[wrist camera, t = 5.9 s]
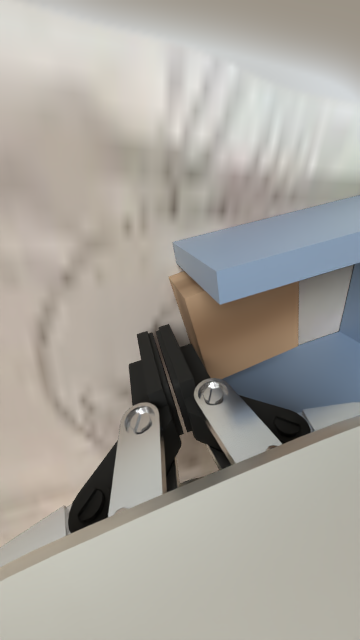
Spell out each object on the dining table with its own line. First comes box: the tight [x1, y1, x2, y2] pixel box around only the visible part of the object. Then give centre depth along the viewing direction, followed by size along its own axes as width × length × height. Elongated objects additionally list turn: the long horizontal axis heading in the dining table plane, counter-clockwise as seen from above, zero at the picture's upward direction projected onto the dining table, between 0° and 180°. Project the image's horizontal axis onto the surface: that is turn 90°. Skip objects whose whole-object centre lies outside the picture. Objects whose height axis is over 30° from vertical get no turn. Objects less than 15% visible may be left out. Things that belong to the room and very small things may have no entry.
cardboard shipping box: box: [169, 271, 299, 379], centre depth 11 cm, size 5×5×3 cm
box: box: [173, 195, 360, 413], centre depth 11 cm, size 10×12×5 cm
